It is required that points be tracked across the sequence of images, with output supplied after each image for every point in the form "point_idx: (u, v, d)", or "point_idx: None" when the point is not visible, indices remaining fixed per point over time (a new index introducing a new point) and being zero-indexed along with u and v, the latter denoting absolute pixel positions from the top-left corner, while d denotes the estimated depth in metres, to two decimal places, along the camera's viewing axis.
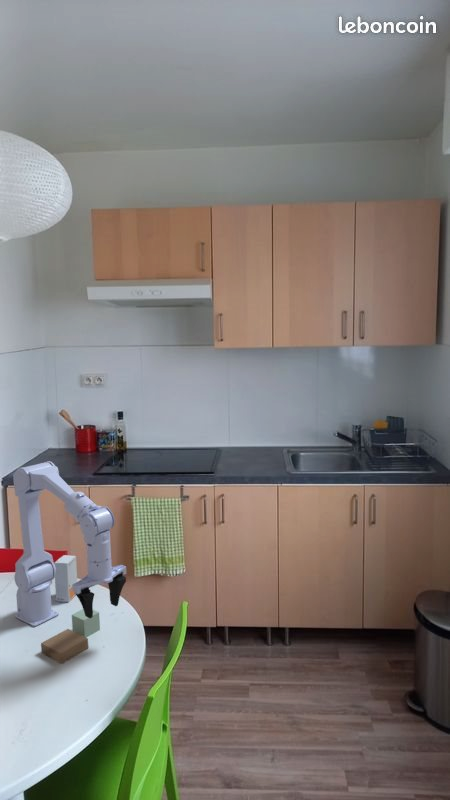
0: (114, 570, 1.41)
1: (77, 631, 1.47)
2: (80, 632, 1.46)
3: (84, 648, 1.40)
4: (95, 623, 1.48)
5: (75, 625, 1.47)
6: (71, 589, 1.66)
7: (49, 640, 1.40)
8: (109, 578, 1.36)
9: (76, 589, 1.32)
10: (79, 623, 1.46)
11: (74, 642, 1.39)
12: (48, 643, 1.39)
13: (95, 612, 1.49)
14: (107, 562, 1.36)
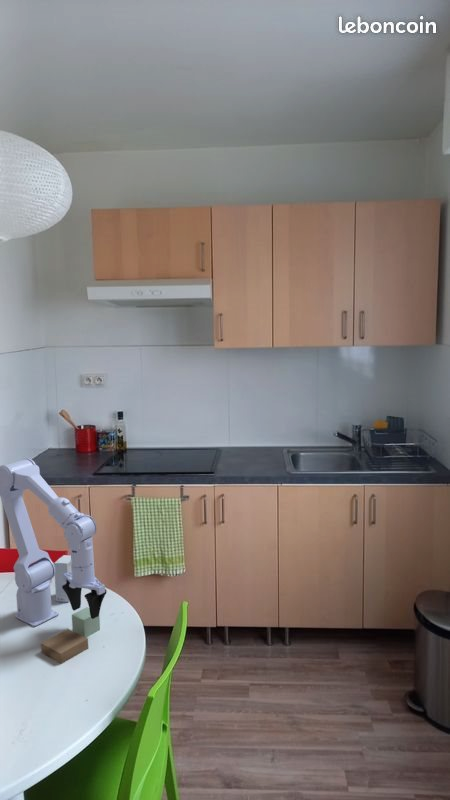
0: (93, 584, 1.44)
1: (77, 631, 1.47)
2: (80, 632, 1.46)
3: (84, 648, 1.40)
4: (95, 623, 1.48)
5: (75, 625, 1.47)
6: None
7: (49, 640, 1.40)
8: (73, 584, 1.44)
9: None
10: (79, 623, 1.46)
11: (74, 642, 1.39)
12: (48, 643, 1.39)
13: None
14: (74, 569, 1.44)
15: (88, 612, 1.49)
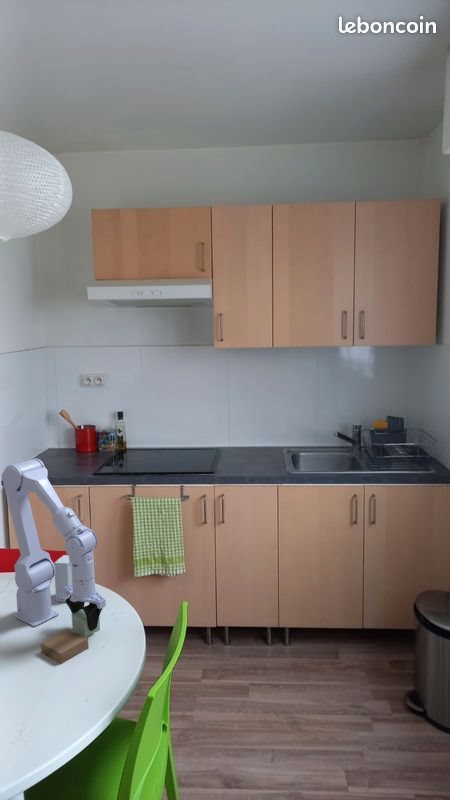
0: (94, 598, 1.45)
1: (77, 631, 1.47)
2: (80, 632, 1.46)
3: (84, 648, 1.40)
4: None
5: (75, 625, 1.47)
6: None
7: (49, 640, 1.40)
8: (74, 598, 1.45)
9: None
10: (79, 622, 1.46)
11: (74, 642, 1.39)
12: (48, 643, 1.39)
13: None
14: (75, 583, 1.45)
15: None
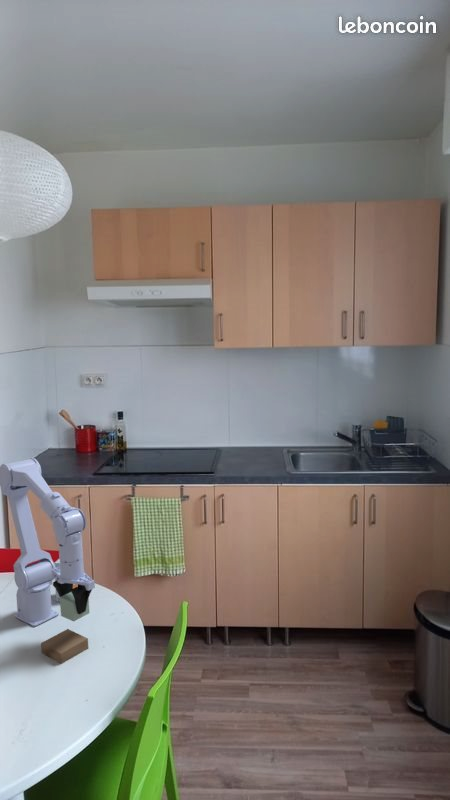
0: (82, 580, 1.40)
1: (65, 614, 1.42)
2: (69, 615, 1.41)
3: (84, 648, 1.40)
4: None
5: (63, 608, 1.42)
6: None
7: (49, 640, 1.40)
8: (62, 580, 1.39)
9: None
10: (68, 605, 1.41)
11: (74, 642, 1.39)
12: (48, 643, 1.39)
13: None
14: (63, 564, 1.39)
15: None
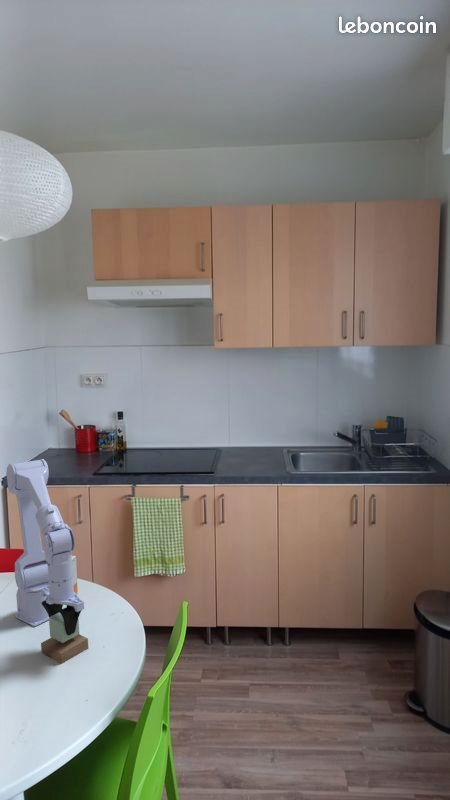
0: (71, 600, 1.36)
1: (55, 635, 1.38)
2: (58, 636, 1.37)
3: (84, 648, 1.40)
4: None
5: (52, 629, 1.38)
6: None
7: (49, 640, 1.40)
8: (50, 600, 1.35)
9: None
10: (57, 626, 1.37)
11: (74, 642, 1.39)
12: (48, 643, 1.39)
13: None
14: (51, 584, 1.35)
15: None
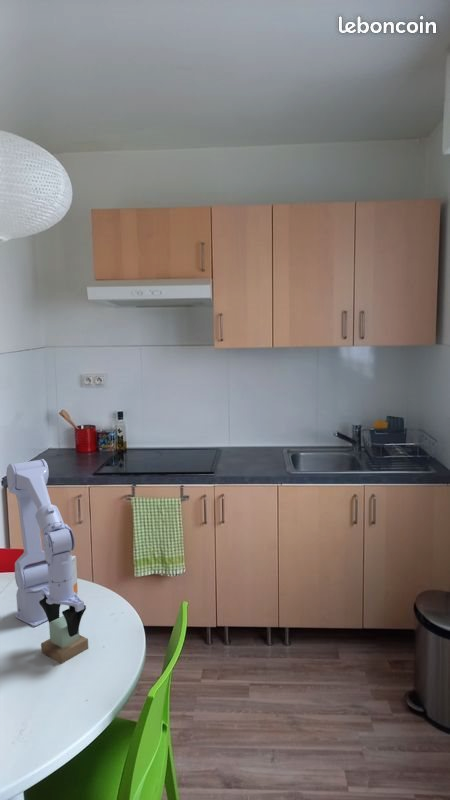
0: (71, 600, 1.36)
1: (55, 640, 1.38)
2: (58, 641, 1.37)
3: (84, 648, 1.40)
4: None
5: (52, 634, 1.39)
6: None
7: (49, 640, 1.40)
8: (50, 600, 1.35)
9: None
10: (57, 631, 1.37)
11: (74, 642, 1.39)
12: (48, 643, 1.39)
13: None
14: (51, 584, 1.35)
15: None
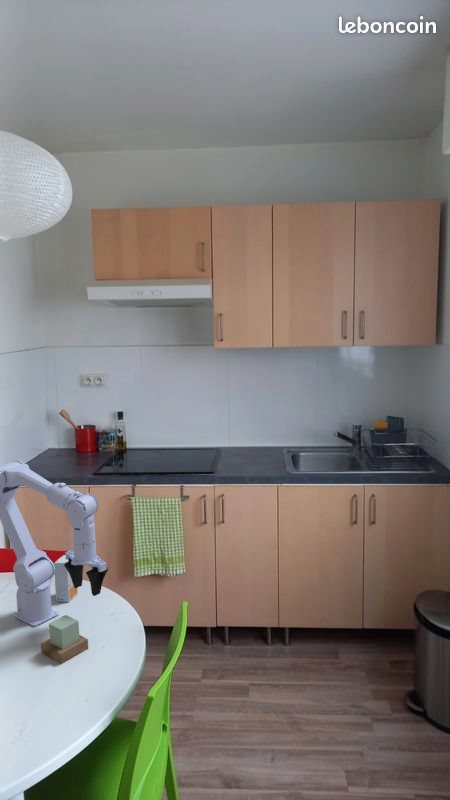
0: (95, 562, 1.46)
1: (55, 641, 1.38)
2: (58, 642, 1.37)
3: (84, 649, 1.40)
4: (74, 632, 1.39)
5: (52, 635, 1.38)
6: (71, 589, 1.66)
7: (49, 640, 1.40)
8: (75, 561, 1.45)
9: None
10: (57, 632, 1.37)
11: None
12: (48, 643, 1.39)
13: (74, 620, 1.39)
14: (76, 546, 1.45)
15: (66, 620, 1.39)
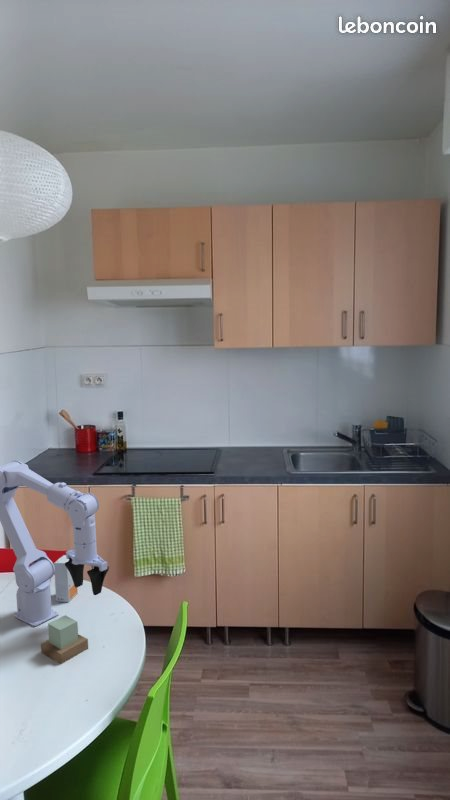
0: None
1: (53, 641, 1.38)
2: (56, 642, 1.37)
3: (84, 648, 1.40)
4: (73, 633, 1.38)
5: (51, 635, 1.38)
6: (71, 589, 1.66)
7: None
8: (76, 561, 1.46)
9: None
10: (55, 632, 1.37)
11: None
12: (48, 643, 1.39)
13: (73, 621, 1.39)
14: (77, 546, 1.46)
15: (66, 621, 1.39)
